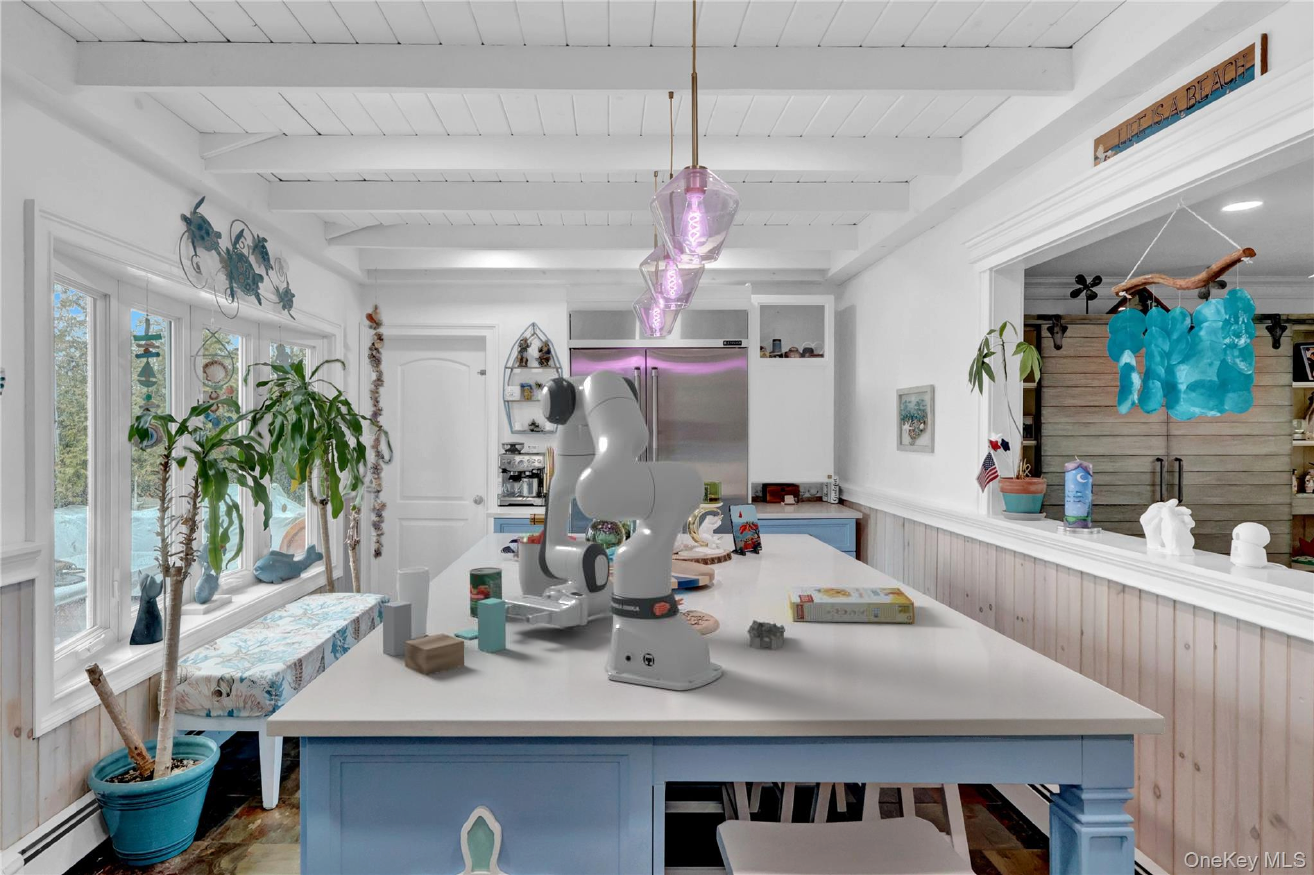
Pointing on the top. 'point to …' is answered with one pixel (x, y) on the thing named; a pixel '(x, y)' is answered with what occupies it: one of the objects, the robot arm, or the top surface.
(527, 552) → the citrus juicer
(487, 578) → the canned tomato
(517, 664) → the top surface
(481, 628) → the teal block
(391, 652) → the grey block
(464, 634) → the tile
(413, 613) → the drinking glass
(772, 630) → the egg carton
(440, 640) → the base block
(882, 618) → the cereal box
